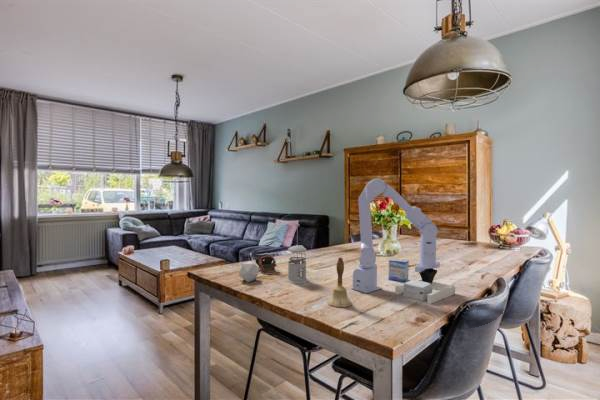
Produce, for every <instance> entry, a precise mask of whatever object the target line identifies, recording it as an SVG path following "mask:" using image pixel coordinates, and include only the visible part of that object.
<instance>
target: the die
mask: <svg viewBox="0 0 600 400" xmlns="http://www.w3.org/2000/svg"><path fill="white" fill-rule="evenodd" d="M240 266H241V267H240V268H239V272H238V276H239V277H240V278H242V279H243V280H244V281H246V282H247V283H250V282H252V281H255V280H256V279H257V278H258V275H259V272H260V268H259V266H258V265H257V264H255V263H254V262H253V261H247V262H243V263H242V264H241V265H240Z"/></svg>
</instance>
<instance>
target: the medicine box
mask: <svg viewBox="0 0 600 400" xmlns="http://www.w3.org/2000/svg"><path fill="white" fill-rule="evenodd" d="M409 264H410V263H409V260H407V259H405V260H404V259H395V258H389V260H388V277H387V279H388V280H389V281H396V282H403V283H406V282H408V280H409Z"/></svg>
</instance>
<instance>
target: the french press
mask: <svg viewBox="0 0 600 400" xmlns="http://www.w3.org/2000/svg"><path fill="white" fill-rule="evenodd" d="M295 227H296V245H292V246H290V247H288V248H287V250H288V251H289V252H293V253H296V256H292V257H291V256H290V257H289V258H288V259H289V260H288V261H287V262H288V263H287V265H288V268H287V271H288V272H287V274H288V277H287V279H286V280H285V281H286V283H288V284H294V285H300V284H306V283H309V279H308V278H307V266H306V265H307V260H306V257H305V256H304V257H303V255H306V251H307V248H305V247H304V246H302V245H299V244H298V243H299V241H298V239H299V238H298V234H299V233H298V231H299V230H298V228H299V227H300V223H298V222H297V223H295ZM298 253H299V255H301V256H298Z"/></svg>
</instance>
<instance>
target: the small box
mask: <svg viewBox="0 0 600 400" xmlns="http://www.w3.org/2000/svg"><path fill="white" fill-rule="evenodd" d="M403 284H404V293H403V297H405V298H410V299H414V300H417V301H421V302H424V301H427V295H428V294H431V293H433V289H432V286H433V284H432V283H427V282H423V281H418V280H417V279H411V280H409V281H408V280H407V282H403Z"/></svg>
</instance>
